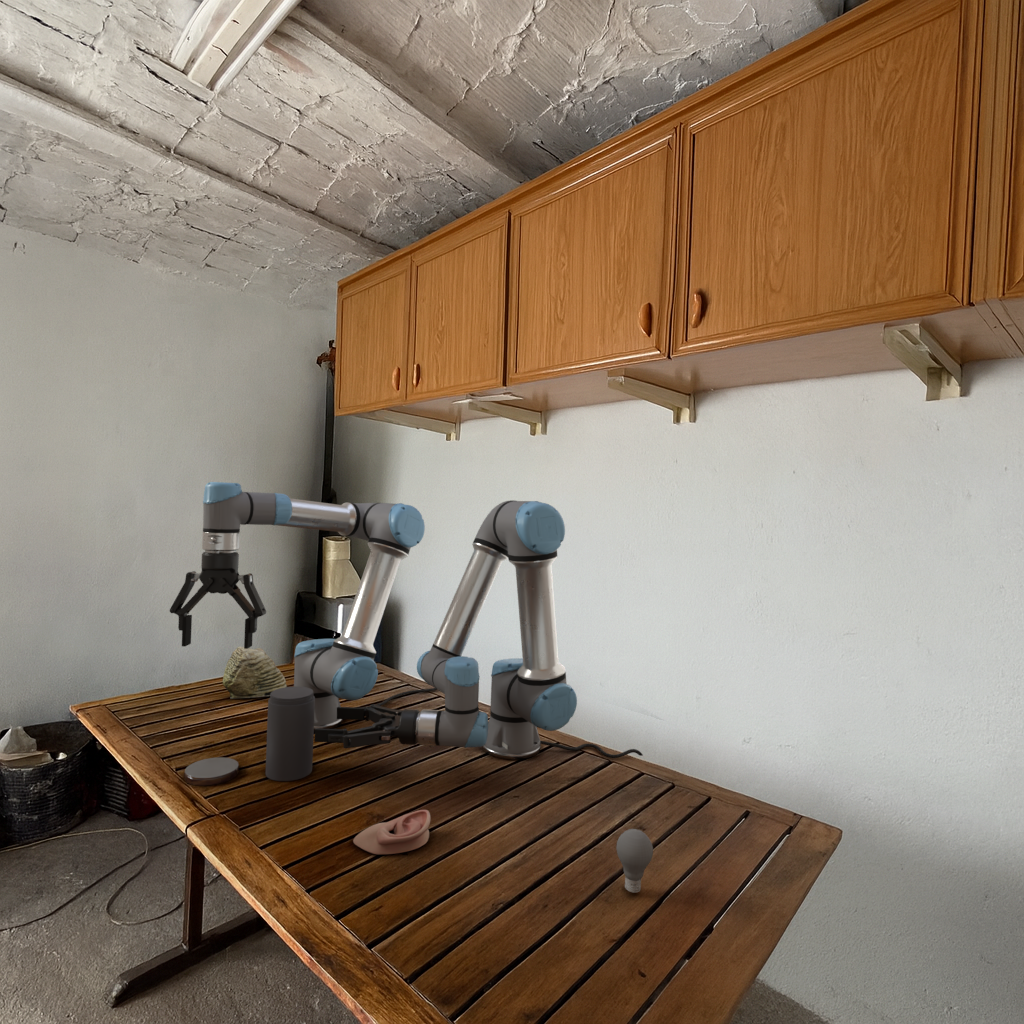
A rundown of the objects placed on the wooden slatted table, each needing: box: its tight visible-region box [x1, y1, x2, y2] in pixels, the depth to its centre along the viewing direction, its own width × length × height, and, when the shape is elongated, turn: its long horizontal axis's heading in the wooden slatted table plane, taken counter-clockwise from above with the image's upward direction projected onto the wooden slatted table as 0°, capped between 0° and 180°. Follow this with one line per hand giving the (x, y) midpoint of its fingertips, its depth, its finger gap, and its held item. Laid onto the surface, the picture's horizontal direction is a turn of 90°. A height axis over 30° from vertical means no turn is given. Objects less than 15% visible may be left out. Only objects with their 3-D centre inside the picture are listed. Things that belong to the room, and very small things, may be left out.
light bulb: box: [615, 828, 654, 894], centre depth 106 cm, size 6×6×10 cm
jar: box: [265, 686, 315, 782], centre depth 145 cm, size 10×10×18 cm
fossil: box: [222, 646, 288, 699], centre depth 198 cm, size 9×18×15 cm, turn 132°
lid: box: [183, 756, 240, 787], centre depth 142 cm, size 11×11×2 cm
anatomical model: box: [352, 809, 431, 856], centre depth 118 cm, size 13×4×12 cm
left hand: (217, 646), depth 141 cm, fingers open, 13 cm apart
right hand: (326, 723), depth 144 cm, fingers open, 13 cm apart
